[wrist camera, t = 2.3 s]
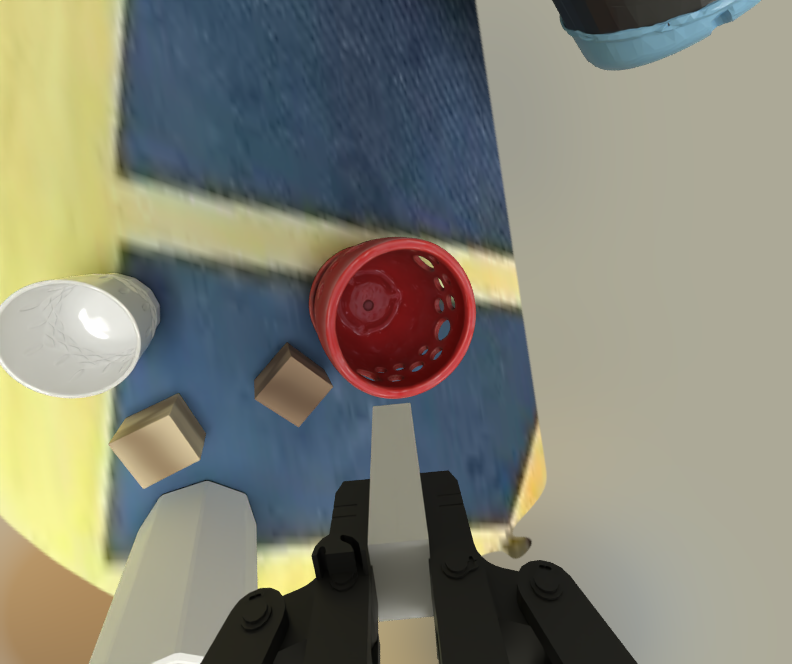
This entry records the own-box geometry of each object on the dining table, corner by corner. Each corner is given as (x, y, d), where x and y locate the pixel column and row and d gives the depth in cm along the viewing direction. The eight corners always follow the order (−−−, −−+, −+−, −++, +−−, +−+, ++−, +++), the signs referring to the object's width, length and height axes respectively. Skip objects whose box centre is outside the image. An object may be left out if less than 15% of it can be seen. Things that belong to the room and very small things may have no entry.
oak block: (178, 392, 38) (169, 415, 33) (206, 433, 40) (200, 459, 35) (125, 417, 37) (108, 444, 32) (156, 458, 39) (143, 488, 34)
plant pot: (373, 379, 44) (413, 429, 34) (275, 309, 39) (285, 341, 28) (445, 288, 45) (508, 308, 34) (358, 206, 39) (399, 198, 28)
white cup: (188, 307, 36) (167, 333, 27) (127, 371, 36) (86, 420, 27) (105, 246, 33) (50, 252, 24) (38, 315, 33) (-44, 349, 24)
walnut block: (286, 341, 40) (291, 356, 36) (324, 369, 42) (333, 386, 38) (254, 379, 40) (254, 399, 36) (293, 405, 42) (298, 427, 38)
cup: (210, 459, 40) (180, 625, 24) (277, 523, 45) (293, 703, 28) (111, 531, 39) (4, 763, 22) (191, 590, 43) (153, 823, 26)
